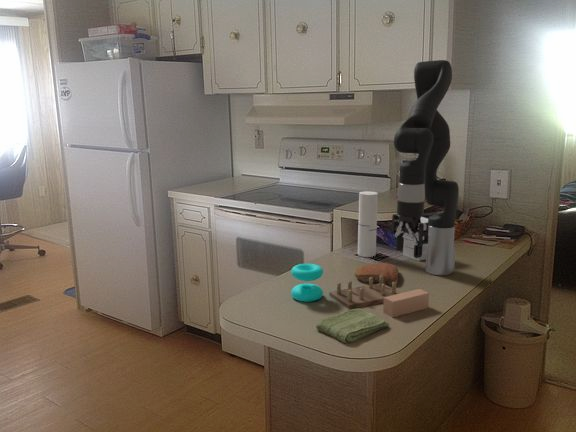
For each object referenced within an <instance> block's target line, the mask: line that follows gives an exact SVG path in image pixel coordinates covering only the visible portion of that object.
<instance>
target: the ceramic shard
mask: <svg viewBox="0 0 576 432" xmlns="http://www.w3.org/2000/svg"><path fill="white" fill-rule="evenodd" d="M381 275H382V276H384V277H383V284H385V285H387V286H392V282H396V286H397V285H398V281H399V269H398V267H397V266H396V265H395V264H391V263H390V262H389V263H388V262H377V263H376V262H375V263H369V264H368V263H367V264H365V265H362V266H359V267H357V268H355V269H354V276H355V277H356V279H357V280H358V281H361V282H362V283H364V284H369V278H370V277H373V283H378V284H379V283H380V276H381Z"/></svg>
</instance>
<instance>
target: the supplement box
mask: <svg viewBox="0 0 576 432" xmlns="http://www.w3.org/2000/svg"><path fill="white" fill-rule="evenodd" d="M421 223H428V218H427V217H424V216H421ZM416 234H418V232H417V233H416ZM403 237H404V247H403V250H402V256H403V257H405V258H409V259H412V260H415V261H417V262H420V261H424V260H425V261H426V251H427V244H423V246H422V256H421V257H419V258H415V257H414V245H415V244H414V241H413V239H412V238H411V237H410V235H409V234H407V233H405V235H404V236H403ZM417 240H418V241H419V238H417ZM423 240H424V236H423Z"/></svg>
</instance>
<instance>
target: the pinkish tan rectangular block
mask: <svg viewBox="0 0 576 432" xmlns="http://www.w3.org/2000/svg"><path fill="white" fill-rule="evenodd" d="M429 300H430V292H427V291H425V290H423V289H421V288H417V289H412V290H409V291H405V292H400V294H396V295H392V296H388V297H384V302H383V308H382V309H383V310H382V311H383V314H385V315H387V316H389V317H391V318H394V317H398V316H399V317H400V316H402V315H406V314H410V313H414V312H417V311H421V310H425V309H429V302H430V301H429Z"/></svg>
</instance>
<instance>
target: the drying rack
mask: <svg viewBox="0 0 576 432" xmlns="http://www.w3.org/2000/svg"><path fill="white" fill-rule="evenodd" d="M383 277H384V276H382V275H381V276H380V283H379V282H378V283H374V282H373V277H370V278H369V283H368V285H364V286H357V287H353V285H352V284H353V281H352V280H348V281H347V289H346V288H344V289H342V283H341V282H337V283H336V290H333V291H329V297H331V298H332V299H333V300H335V301H336V302H338V303H340V305H342V306H344V307H345V308H347V310H351V309H357V308H360V307H365V306H371V305H376V304H382V303H384V297H388V296H392V295H396V294H400V293H401V292H400V291H398V290H397V285H396V282H392V285H391V286H390V285H388V284H383Z"/></svg>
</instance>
